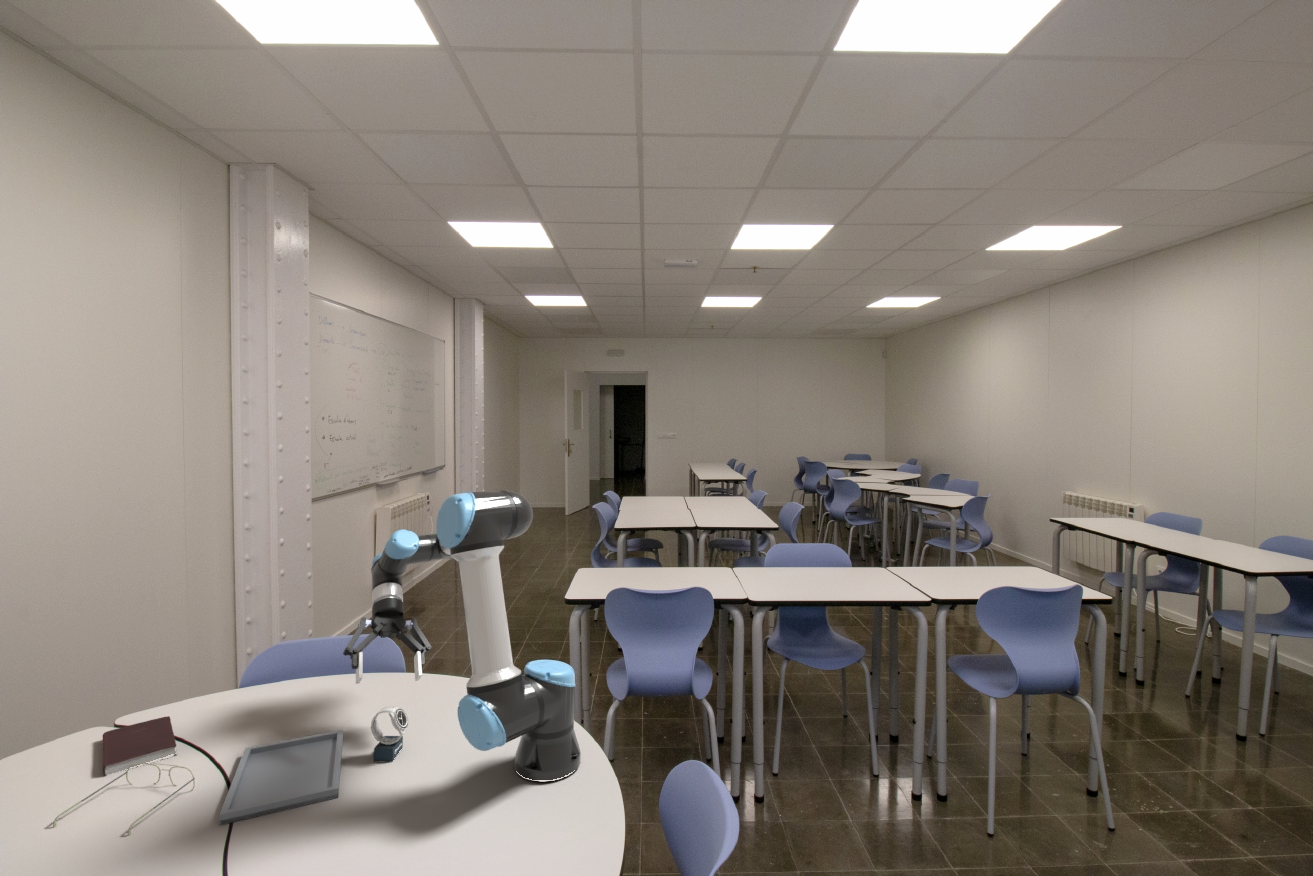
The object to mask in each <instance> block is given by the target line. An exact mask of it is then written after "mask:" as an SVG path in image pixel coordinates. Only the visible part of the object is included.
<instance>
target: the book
mask: <svg viewBox="0 0 1313 876" xmlns="http://www.w3.org/2000/svg"><path fill="white" fill-rule="evenodd" d="M171 721H172V720H171V717H170V716H164V717H158V718H154V719H150V720H146V721H142V722H138V723H134V724H129V725H125V726H122V727H117V728H114V729H110V730H108V731H104V733H103V734H102V758H103V759H102V772H103V773H102V774H103V777H107V776H109V775H113V774H116V773H120V772H123V771H124V770H125V769H128V768H129V767H130V766H132V765H134V764H138V763H146V762H150V761H153V760H156V759H159V758H163V757H166V756H168V755H171V754H175V753H176V751H177V750H176V751H175V748H176V747H177V743H176V738H175V734H174V730H173V725H172V722H171ZM138 765H140V764H138ZM134 766H137V765H134ZM134 766H132V767H134ZM122 770H123V771H122ZM119 771H120V772H119ZM125 771H126V770H125ZM112 773H113V774H112ZM108 774H109V775H108Z"/></svg>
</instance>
